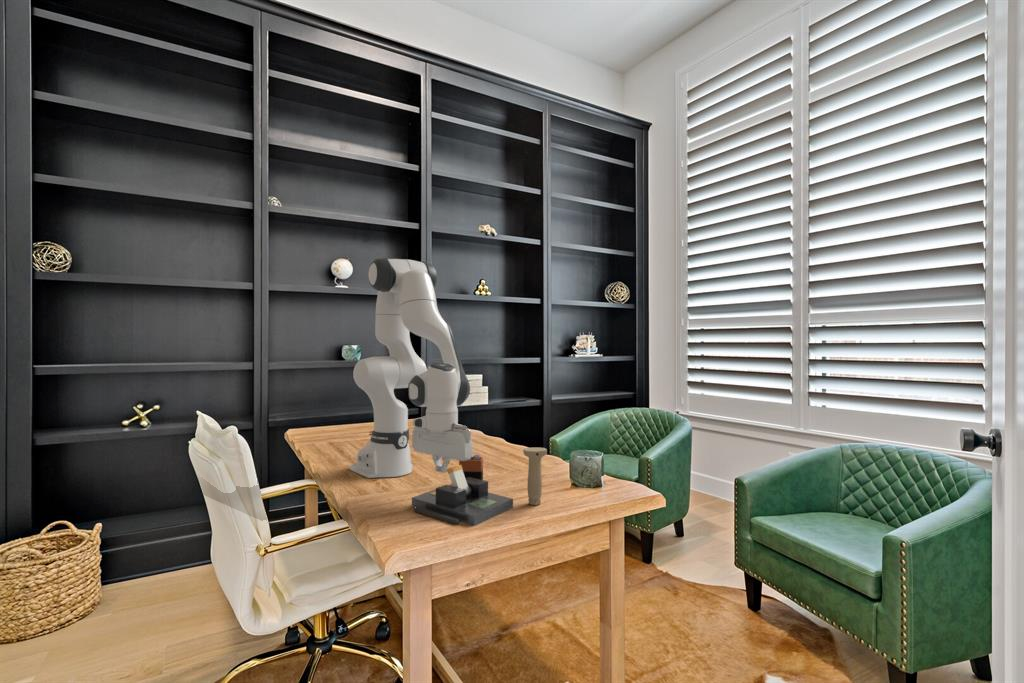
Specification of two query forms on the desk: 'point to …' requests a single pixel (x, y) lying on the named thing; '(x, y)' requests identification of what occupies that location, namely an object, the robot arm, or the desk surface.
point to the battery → (473, 467)
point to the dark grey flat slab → (436, 515)
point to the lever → (458, 478)
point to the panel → (464, 509)
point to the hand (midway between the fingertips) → (441, 471)
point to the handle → (534, 473)
